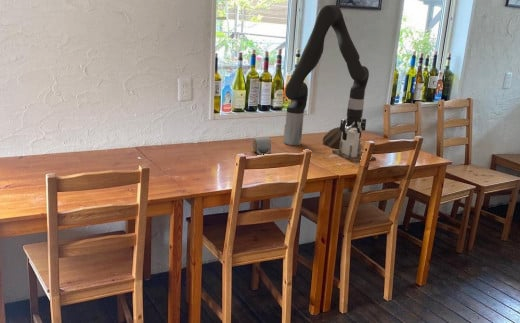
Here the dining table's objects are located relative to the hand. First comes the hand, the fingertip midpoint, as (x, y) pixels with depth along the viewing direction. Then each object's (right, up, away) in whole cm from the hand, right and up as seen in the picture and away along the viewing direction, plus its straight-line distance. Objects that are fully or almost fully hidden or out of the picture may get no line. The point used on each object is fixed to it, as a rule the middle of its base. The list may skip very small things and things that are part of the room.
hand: (351, 139), depth 242 cm
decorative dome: (-2, -2, +25) cm, 25 cm away
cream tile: (-1, -7, +3) cm, 8 cm away
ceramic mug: (-44, -7, -1) cm, 45 cm away
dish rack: (+2, -8, +4) cm, 9 cm away
